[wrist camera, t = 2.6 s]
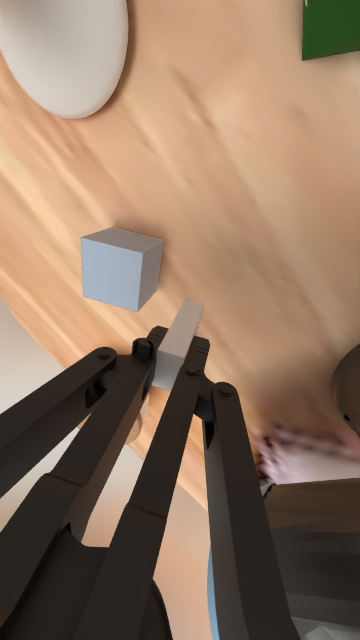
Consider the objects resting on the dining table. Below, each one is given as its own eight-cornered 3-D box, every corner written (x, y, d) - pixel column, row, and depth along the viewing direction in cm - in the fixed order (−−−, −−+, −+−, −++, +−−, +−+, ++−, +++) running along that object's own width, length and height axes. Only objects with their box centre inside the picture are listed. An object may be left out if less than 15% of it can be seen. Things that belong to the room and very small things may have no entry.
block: (163, 239, 27) (142, 253, 22) (157, 289, 30) (137, 312, 25) (112, 227, 28) (80, 237, 22) (111, 277, 31) (82, 296, 26)
